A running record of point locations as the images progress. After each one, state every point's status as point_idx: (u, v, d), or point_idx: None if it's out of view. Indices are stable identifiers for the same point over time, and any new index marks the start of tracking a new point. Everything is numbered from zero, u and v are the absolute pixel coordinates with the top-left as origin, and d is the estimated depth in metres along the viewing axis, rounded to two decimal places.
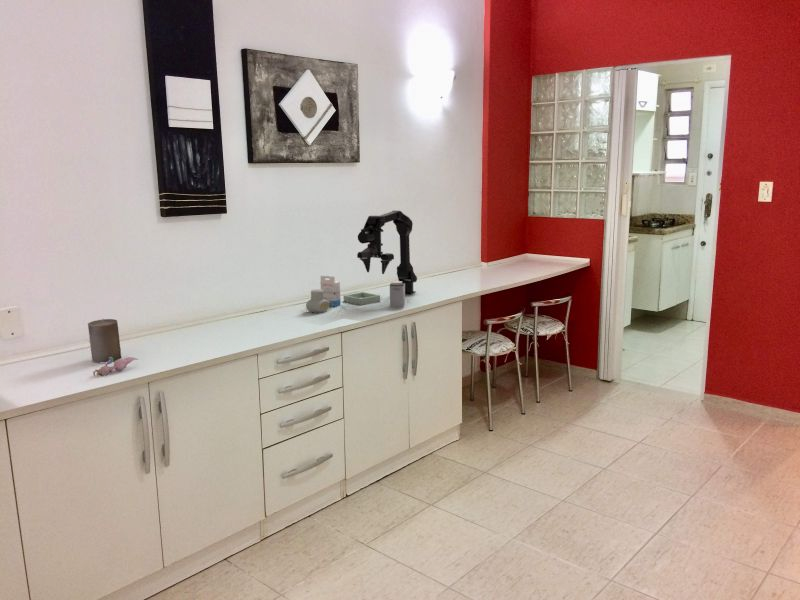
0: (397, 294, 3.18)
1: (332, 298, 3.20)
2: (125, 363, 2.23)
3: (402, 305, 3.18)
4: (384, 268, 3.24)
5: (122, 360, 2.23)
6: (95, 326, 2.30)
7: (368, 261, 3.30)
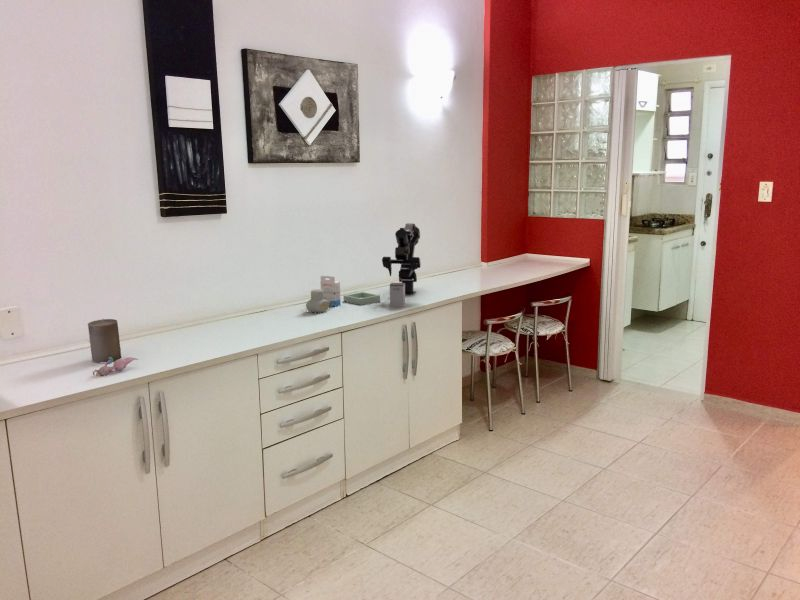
0: (397, 294, 3.18)
1: (332, 298, 3.20)
2: (125, 363, 2.23)
3: (402, 305, 3.18)
4: (411, 271, 3.26)
5: (122, 360, 2.23)
6: (95, 326, 2.30)
7: (391, 268, 3.30)
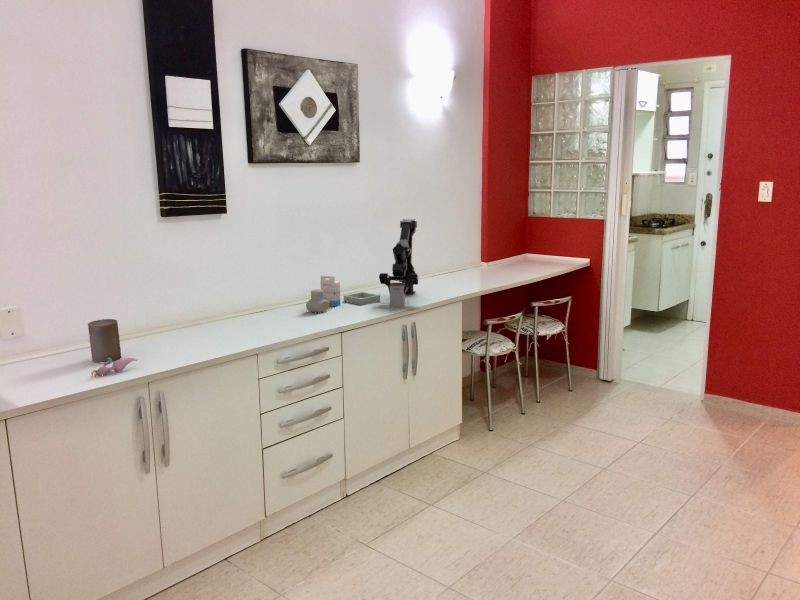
0: (397, 294, 3.18)
1: (332, 298, 3.20)
2: (124, 364, 2.22)
3: (402, 305, 3.18)
4: (406, 288, 3.19)
5: (121, 361, 2.22)
6: (95, 326, 2.30)
7: None
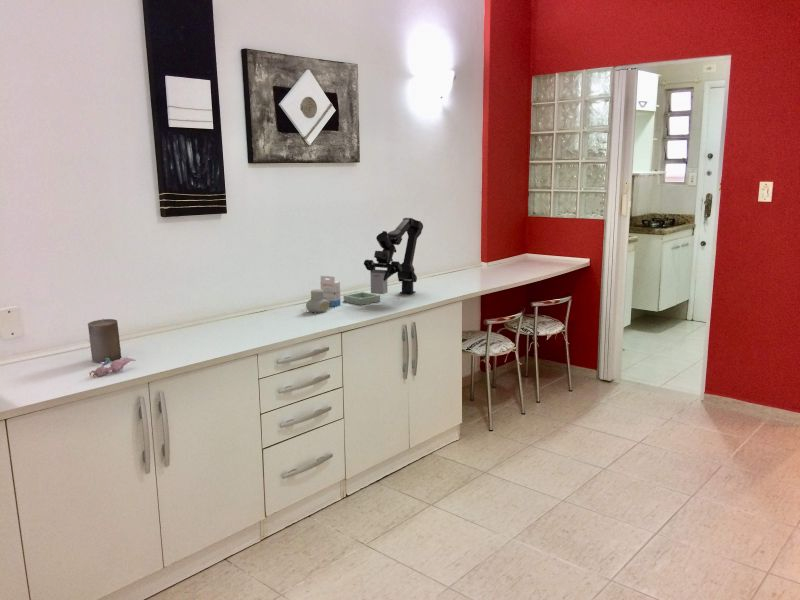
0: (377, 280, 3.20)
1: (332, 298, 3.20)
2: (122, 364, 2.22)
3: (382, 292, 3.20)
4: (387, 275, 3.21)
5: (119, 361, 2.22)
6: (95, 326, 2.30)
7: None
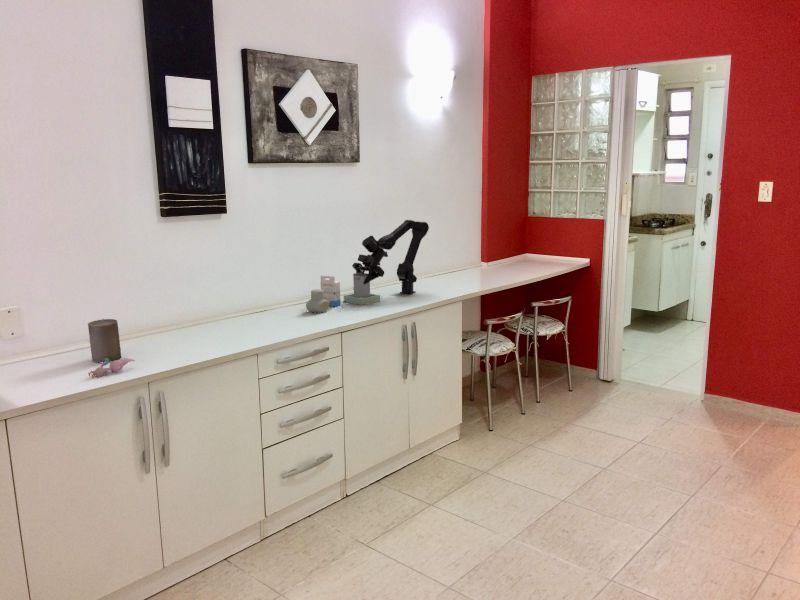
0: (358, 283, 3.29)
1: (332, 298, 3.20)
2: (121, 365, 2.22)
3: (361, 295, 3.29)
4: (368, 279, 3.28)
5: (118, 361, 2.22)
6: (95, 326, 2.30)
7: None
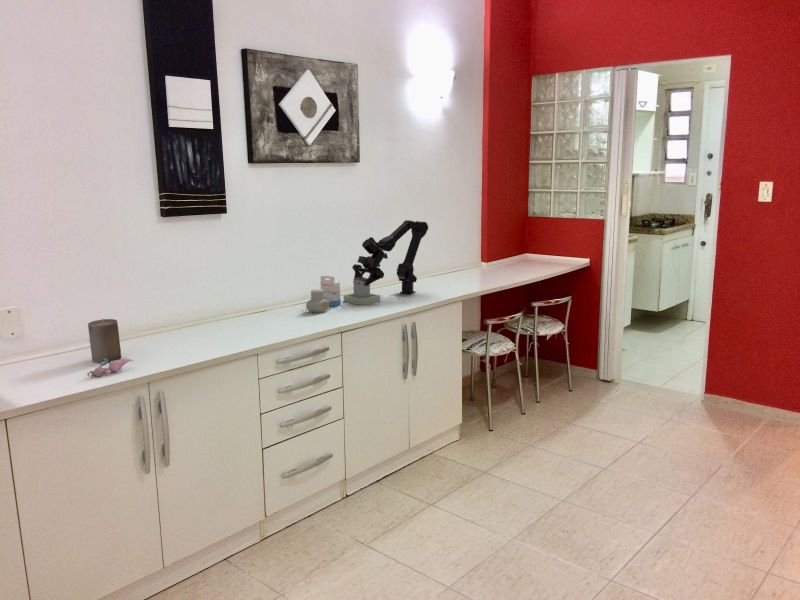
0: (358, 288, 3.29)
1: (332, 298, 3.20)
2: (120, 365, 2.21)
3: None
4: (369, 281, 3.27)
5: (117, 362, 2.21)
6: (95, 326, 2.30)
7: (359, 276, 3.36)
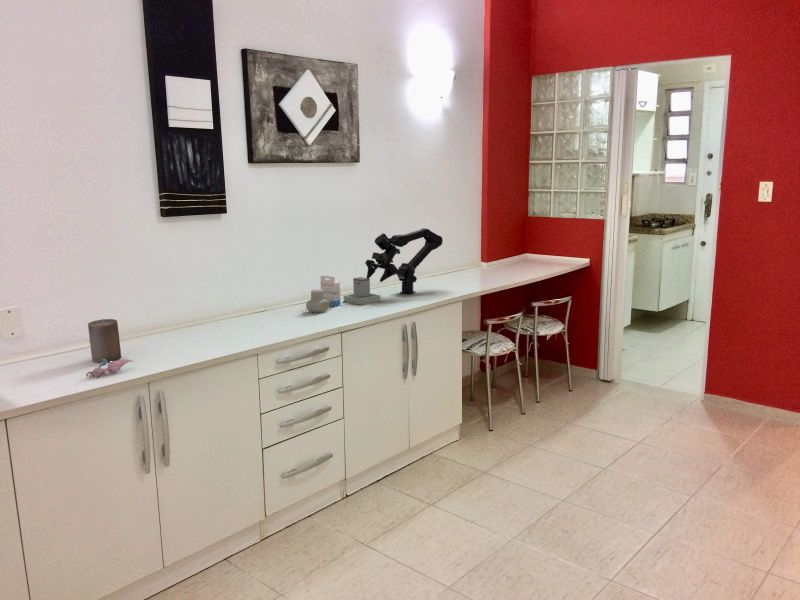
0: (358, 288, 3.30)
1: (332, 298, 3.20)
2: (119, 365, 2.21)
3: None
4: (384, 277, 3.33)
5: (116, 362, 2.21)
6: (95, 326, 2.30)
7: (372, 271, 3.42)
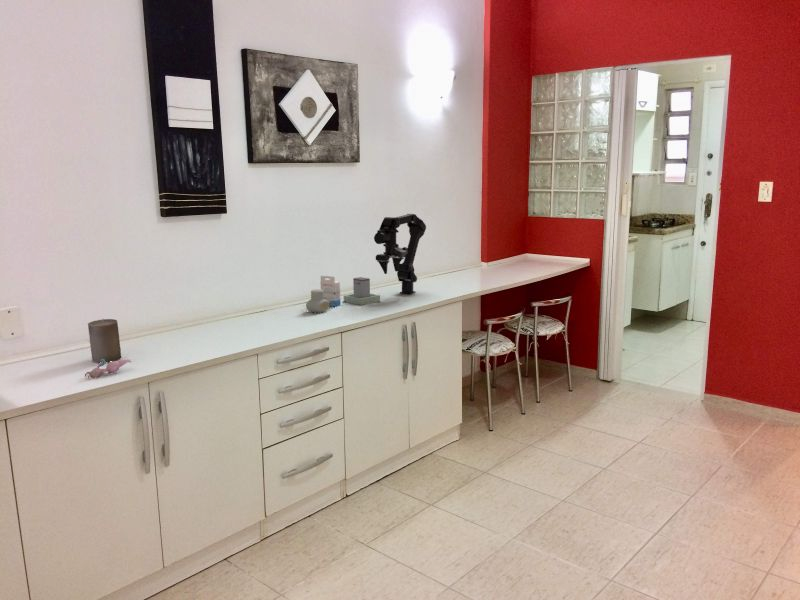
0: (358, 288, 3.30)
1: (332, 298, 3.20)
2: (117, 366, 2.20)
3: None
4: None
5: (115, 362, 2.20)
6: (95, 326, 2.30)
7: None
